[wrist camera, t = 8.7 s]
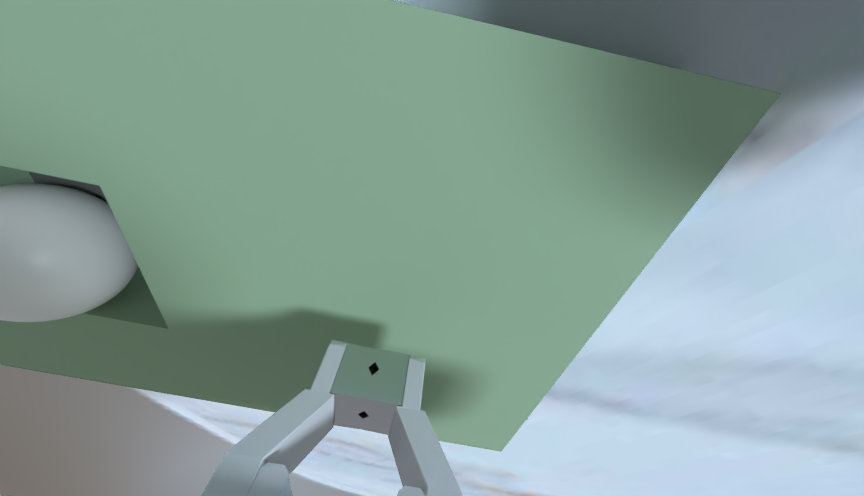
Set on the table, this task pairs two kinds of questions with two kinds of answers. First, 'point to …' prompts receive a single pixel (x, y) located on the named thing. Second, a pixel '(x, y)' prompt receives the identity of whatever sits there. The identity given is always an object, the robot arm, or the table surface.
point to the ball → (58, 253)
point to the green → (350, 191)
